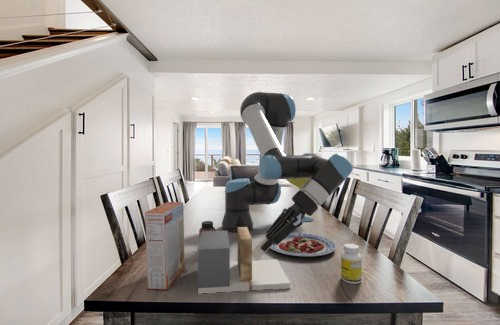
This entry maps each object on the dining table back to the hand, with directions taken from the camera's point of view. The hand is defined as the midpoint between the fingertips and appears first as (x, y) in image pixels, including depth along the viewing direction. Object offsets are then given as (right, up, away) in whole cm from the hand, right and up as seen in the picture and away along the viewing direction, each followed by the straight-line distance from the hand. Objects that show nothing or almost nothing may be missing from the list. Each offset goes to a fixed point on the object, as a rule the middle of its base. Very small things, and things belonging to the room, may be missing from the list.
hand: (253, 256), depth 78 cm
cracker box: (-25, -6, 0) cm, 26 cm away
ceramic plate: (+18, -6, +24) cm, 31 cm away
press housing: (-3, -6, 0) cm, 7 cm away
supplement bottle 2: (+28, -6, -2) cm, 28 cm away
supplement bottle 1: (-16, -6, +19) cm, 25 cm away
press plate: (-3, -4, 0) cm, 5 cm away
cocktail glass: (+28, -4, +68) cm, 73 cm away
